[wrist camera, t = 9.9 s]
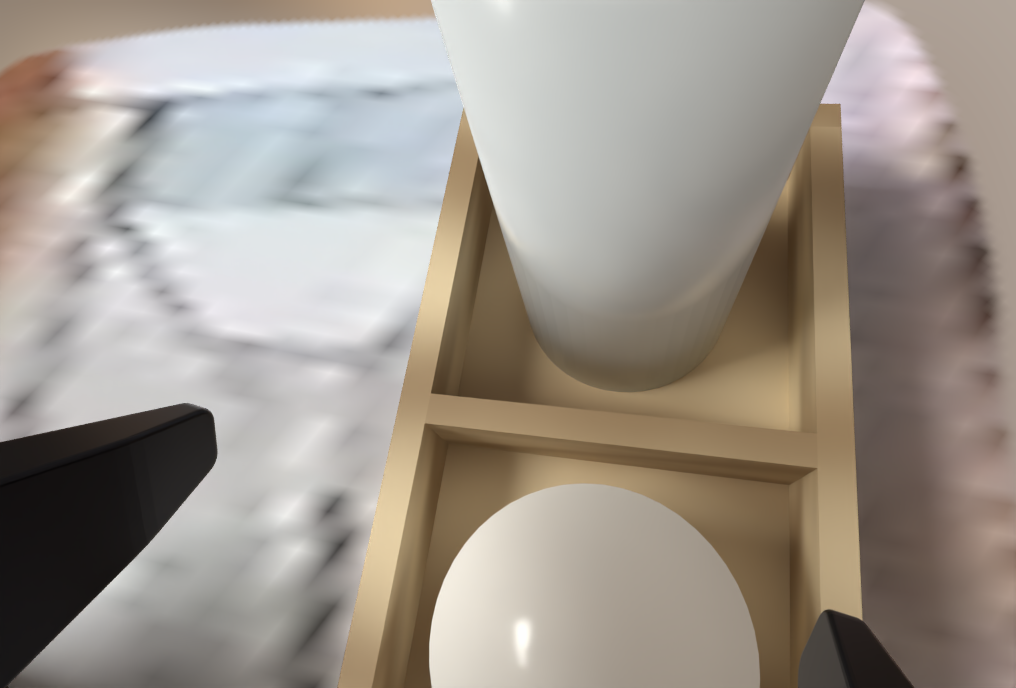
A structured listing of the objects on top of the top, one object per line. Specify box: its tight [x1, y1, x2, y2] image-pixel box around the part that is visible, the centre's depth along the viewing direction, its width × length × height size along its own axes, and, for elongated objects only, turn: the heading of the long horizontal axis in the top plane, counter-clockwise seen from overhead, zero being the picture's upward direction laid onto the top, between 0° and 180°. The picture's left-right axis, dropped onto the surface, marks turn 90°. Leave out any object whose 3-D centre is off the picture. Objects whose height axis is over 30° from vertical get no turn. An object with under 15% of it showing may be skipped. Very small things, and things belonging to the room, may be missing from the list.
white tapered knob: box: [431, 0, 865, 392], centre depth 13 cm, size 6×6×13 cm
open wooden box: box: [337, 104, 862, 688], centre depth 17 cm, size 20×11×4 cm, turn 171°
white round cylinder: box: [429, 483, 760, 688], centre depth 14 cm, size 6×6×4 cm
